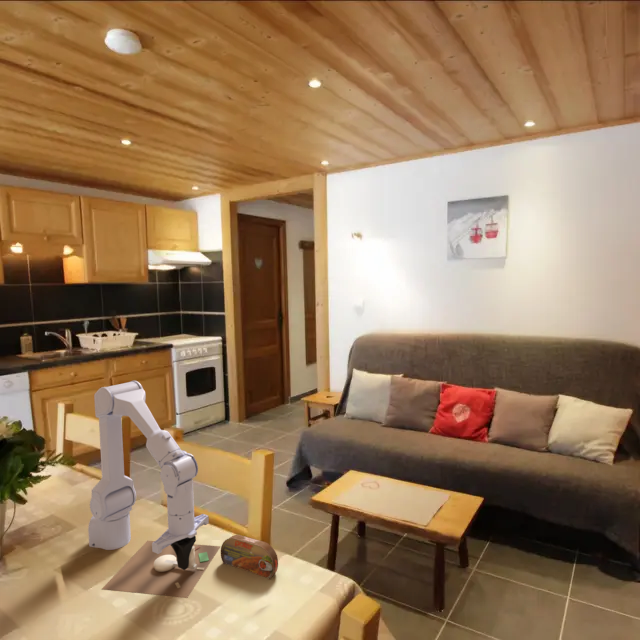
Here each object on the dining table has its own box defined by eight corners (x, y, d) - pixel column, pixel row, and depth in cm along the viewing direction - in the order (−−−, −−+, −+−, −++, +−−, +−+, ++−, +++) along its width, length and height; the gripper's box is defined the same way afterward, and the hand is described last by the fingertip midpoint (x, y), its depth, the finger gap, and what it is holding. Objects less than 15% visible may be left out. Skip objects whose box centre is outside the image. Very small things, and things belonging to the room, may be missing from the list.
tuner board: (101, 595, 100) (101, 588, 100) (147, 546, 119) (147, 539, 119) (187, 604, 97) (187, 596, 97) (220, 552, 116) (220, 545, 115)
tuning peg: (149, 569, 106) (148, 549, 106) (162, 557, 111) (161, 537, 110) (190, 576, 103) (189, 555, 103) (201, 563, 108) (200, 543, 108)
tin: (220, 569, 109) (219, 535, 108) (228, 562, 112) (227, 528, 111) (273, 588, 102) (272, 551, 101) (280, 579, 105) (279, 544, 104)
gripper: (166, 529, 95) (169, 591, 96) (217, 500, 107) (219, 556, 108) (144, 520, 98) (147, 580, 99) (196, 493, 111) (198, 547, 112)
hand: (183, 567), depth 104 cm, fingers closed
